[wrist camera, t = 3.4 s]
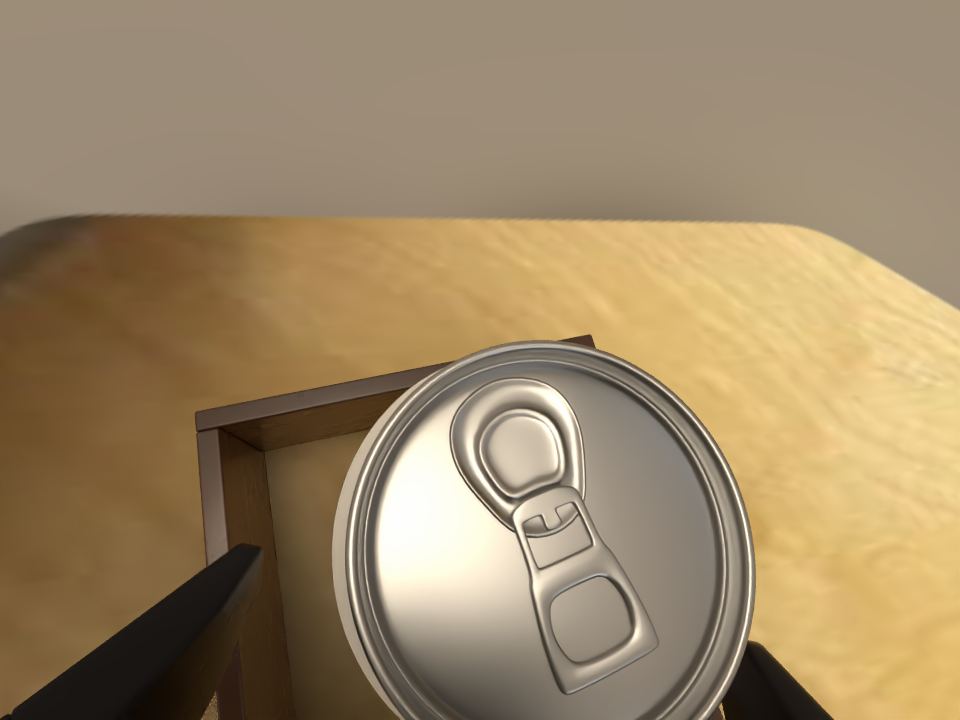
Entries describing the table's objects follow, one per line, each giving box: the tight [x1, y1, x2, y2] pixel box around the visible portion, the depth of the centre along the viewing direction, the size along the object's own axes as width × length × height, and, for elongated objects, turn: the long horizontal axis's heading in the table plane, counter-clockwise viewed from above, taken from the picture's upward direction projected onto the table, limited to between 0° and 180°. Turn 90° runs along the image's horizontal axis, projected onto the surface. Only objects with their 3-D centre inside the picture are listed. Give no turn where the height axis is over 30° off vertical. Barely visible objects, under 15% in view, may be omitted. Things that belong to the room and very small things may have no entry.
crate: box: [195, 335, 723, 720], centre depth 15 cm, size 13×12×4 cm
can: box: [332, 340, 756, 720], centre depth 12 cm, size 6×6×12 cm
